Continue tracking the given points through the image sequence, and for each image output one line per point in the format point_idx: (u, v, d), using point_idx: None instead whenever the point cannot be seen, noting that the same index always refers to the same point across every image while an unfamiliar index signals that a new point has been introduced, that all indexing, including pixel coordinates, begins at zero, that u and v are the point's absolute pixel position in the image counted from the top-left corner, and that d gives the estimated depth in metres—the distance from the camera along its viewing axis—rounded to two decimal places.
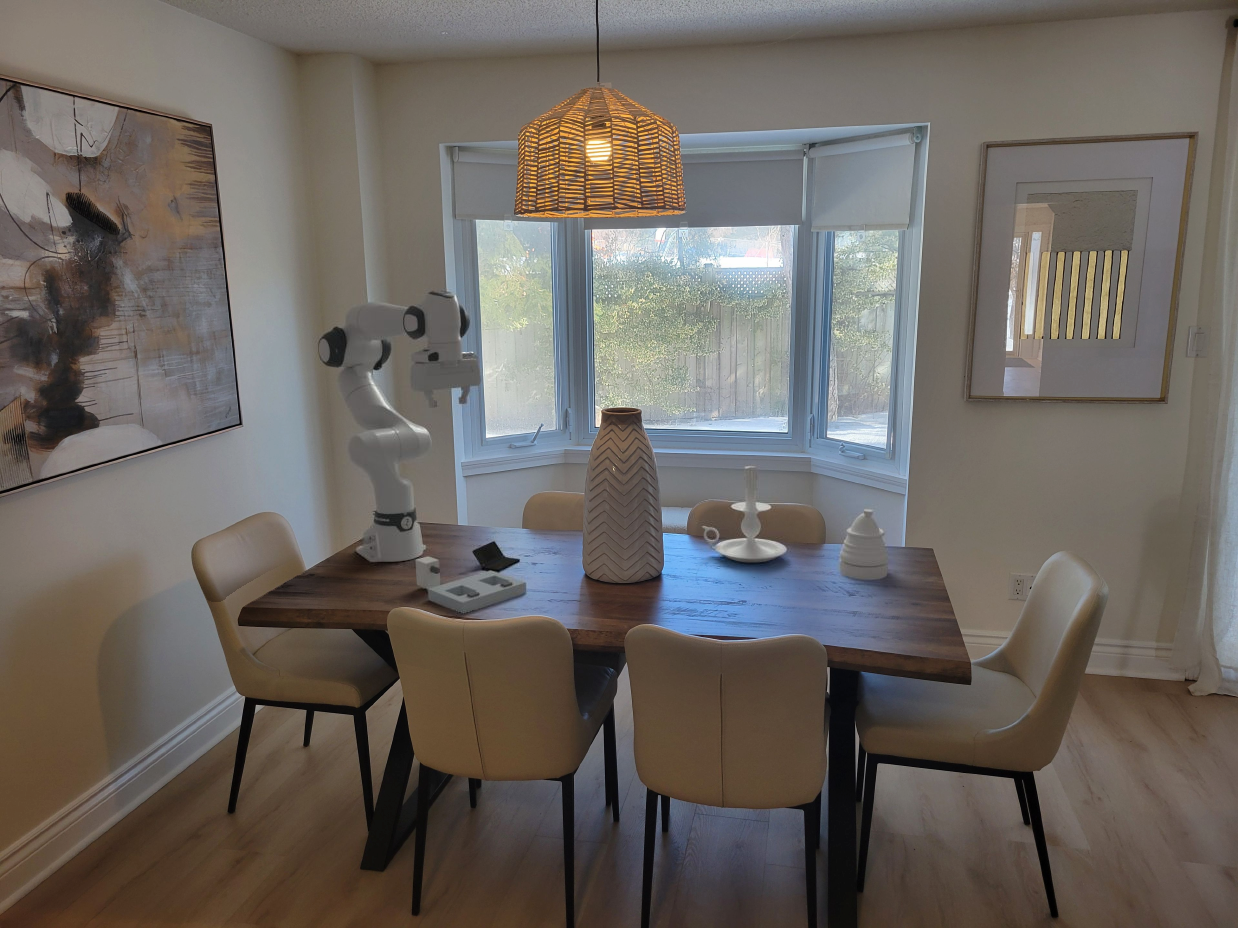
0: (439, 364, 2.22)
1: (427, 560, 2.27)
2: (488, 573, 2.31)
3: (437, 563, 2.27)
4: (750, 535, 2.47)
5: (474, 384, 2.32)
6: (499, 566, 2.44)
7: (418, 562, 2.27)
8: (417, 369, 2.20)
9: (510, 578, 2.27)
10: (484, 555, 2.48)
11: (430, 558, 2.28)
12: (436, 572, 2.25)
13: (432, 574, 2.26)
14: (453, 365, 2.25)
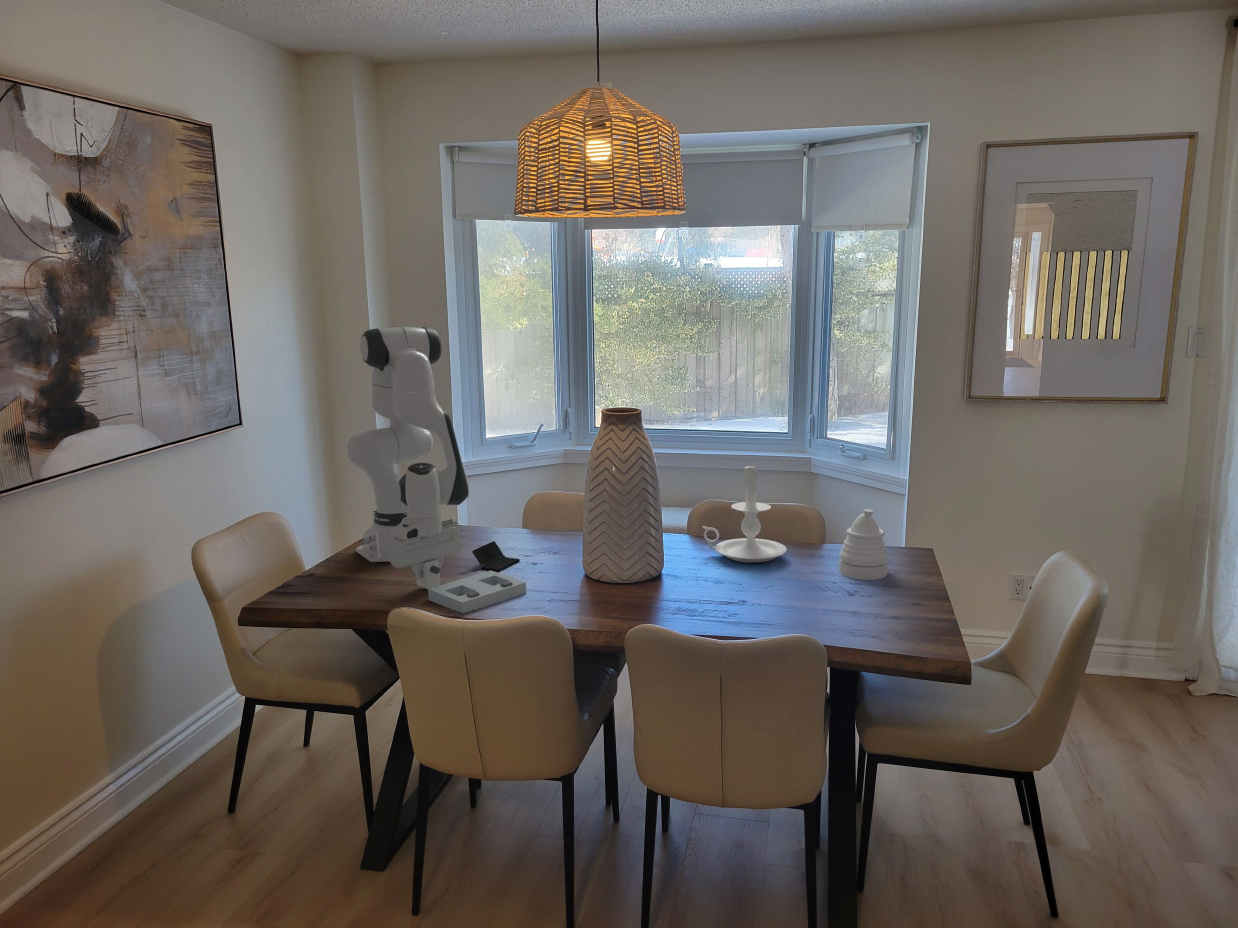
0: (418, 539, 2.21)
1: None
2: (488, 573, 2.31)
3: (437, 563, 2.27)
4: (750, 535, 2.47)
5: (454, 552, 2.31)
6: (499, 566, 2.44)
7: None
8: (396, 546, 2.19)
9: (510, 578, 2.27)
10: (484, 555, 2.48)
11: None
12: (436, 572, 2.25)
13: (432, 574, 2.26)
14: (432, 538, 2.24)
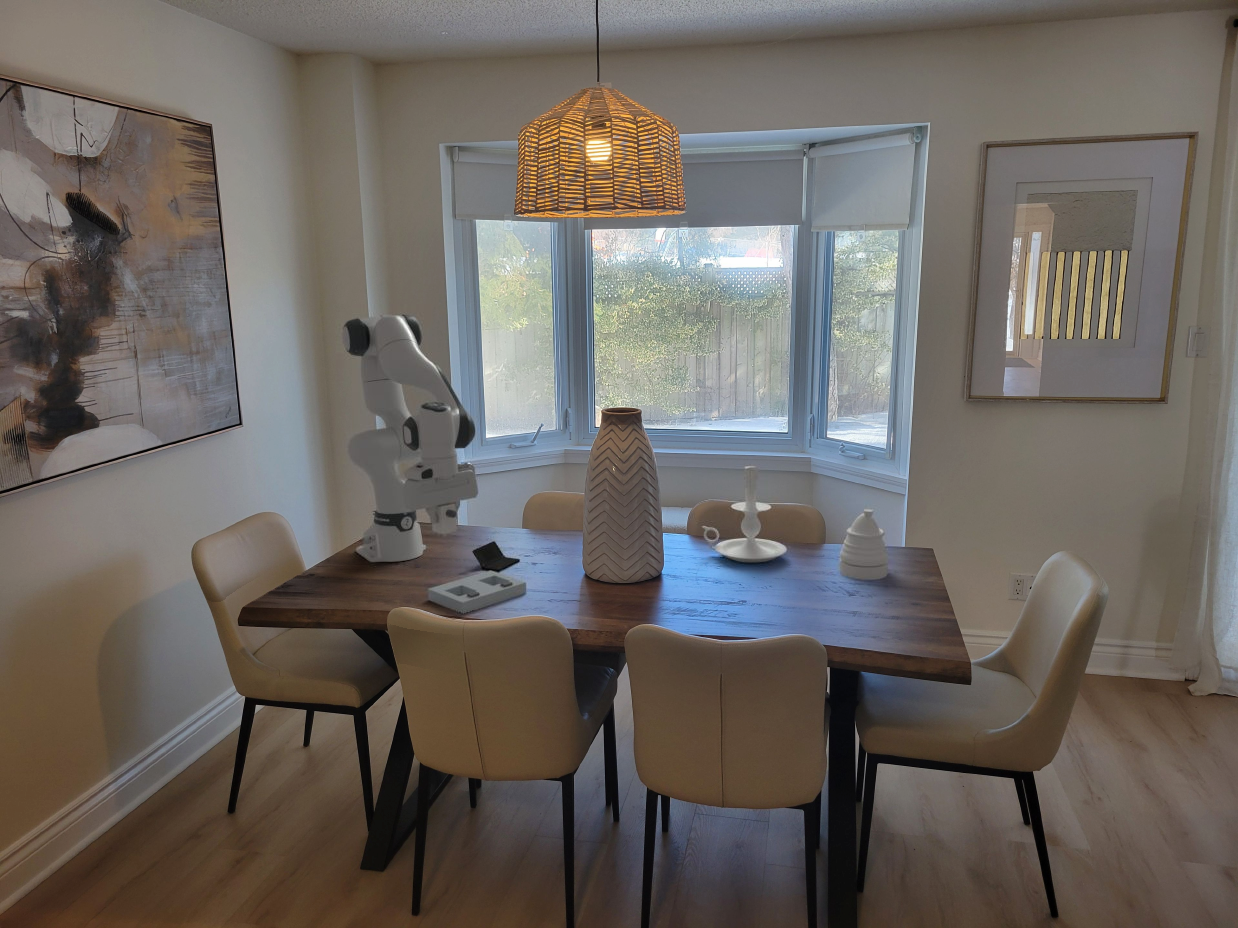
0: (433, 480, 2.11)
1: (443, 504, 2.16)
2: (488, 573, 2.31)
3: (453, 507, 2.17)
4: (750, 535, 2.47)
5: (471, 496, 2.21)
6: (499, 566, 2.44)
7: None
8: (410, 487, 2.09)
9: (510, 578, 2.27)
10: (484, 555, 2.48)
11: None
12: (452, 516, 2.14)
13: (448, 518, 2.16)
14: (448, 480, 2.14)
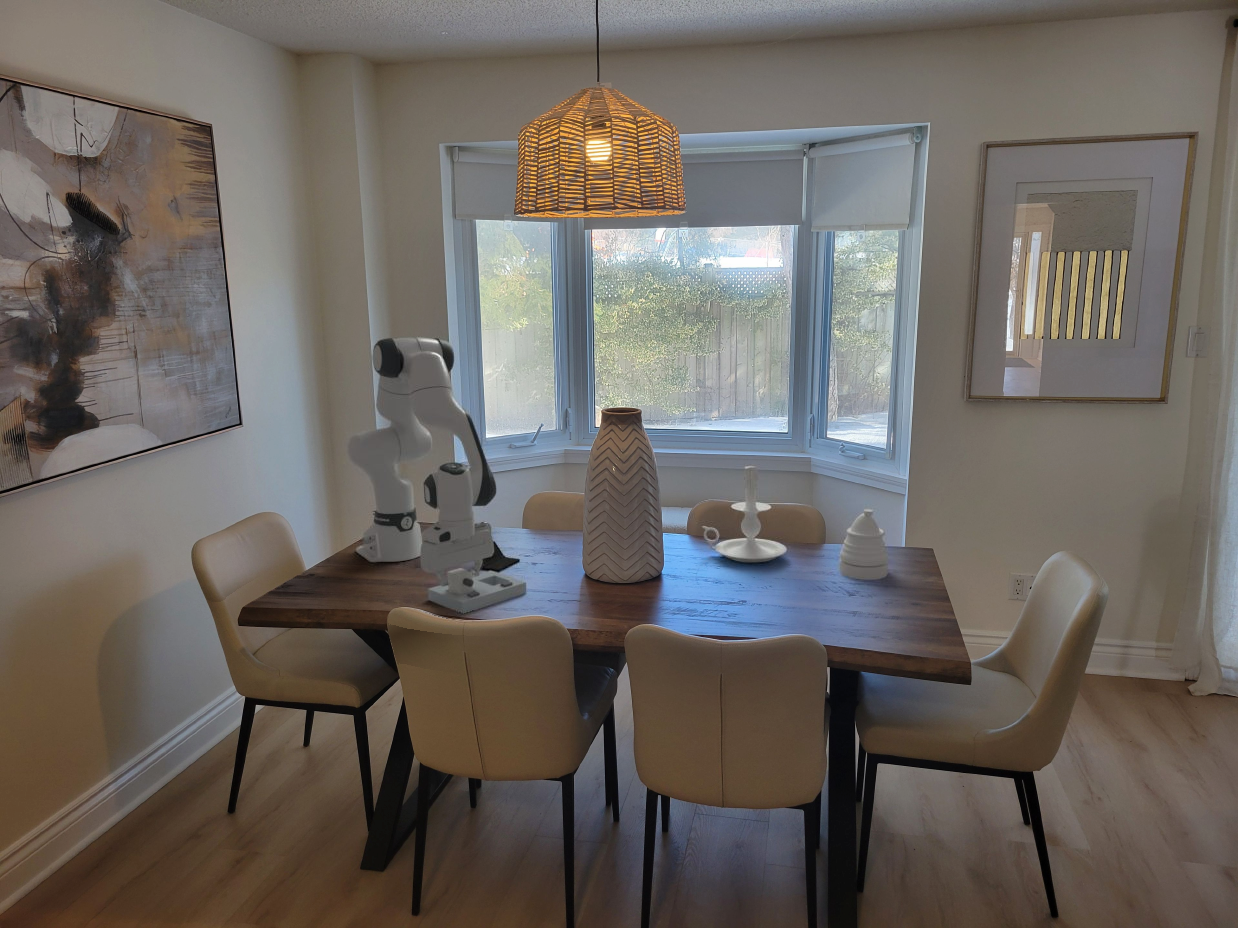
0: (451, 543, 2.11)
1: (460, 572, 2.16)
2: (488, 573, 2.31)
3: (470, 575, 2.16)
4: (750, 535, 2.47)
5: (487, 556, 2.21)
6: (499, 566, 2.44)
7: (450, 574, 2.16)
8: (428, 550, 2.08)
9: (510, 578, 2.27)
10: None
11: (462, 570, 2.18)
12: (469, 585, 2.14)
13: (465, 587, 2.16)
14: (465, 541, 2.13)
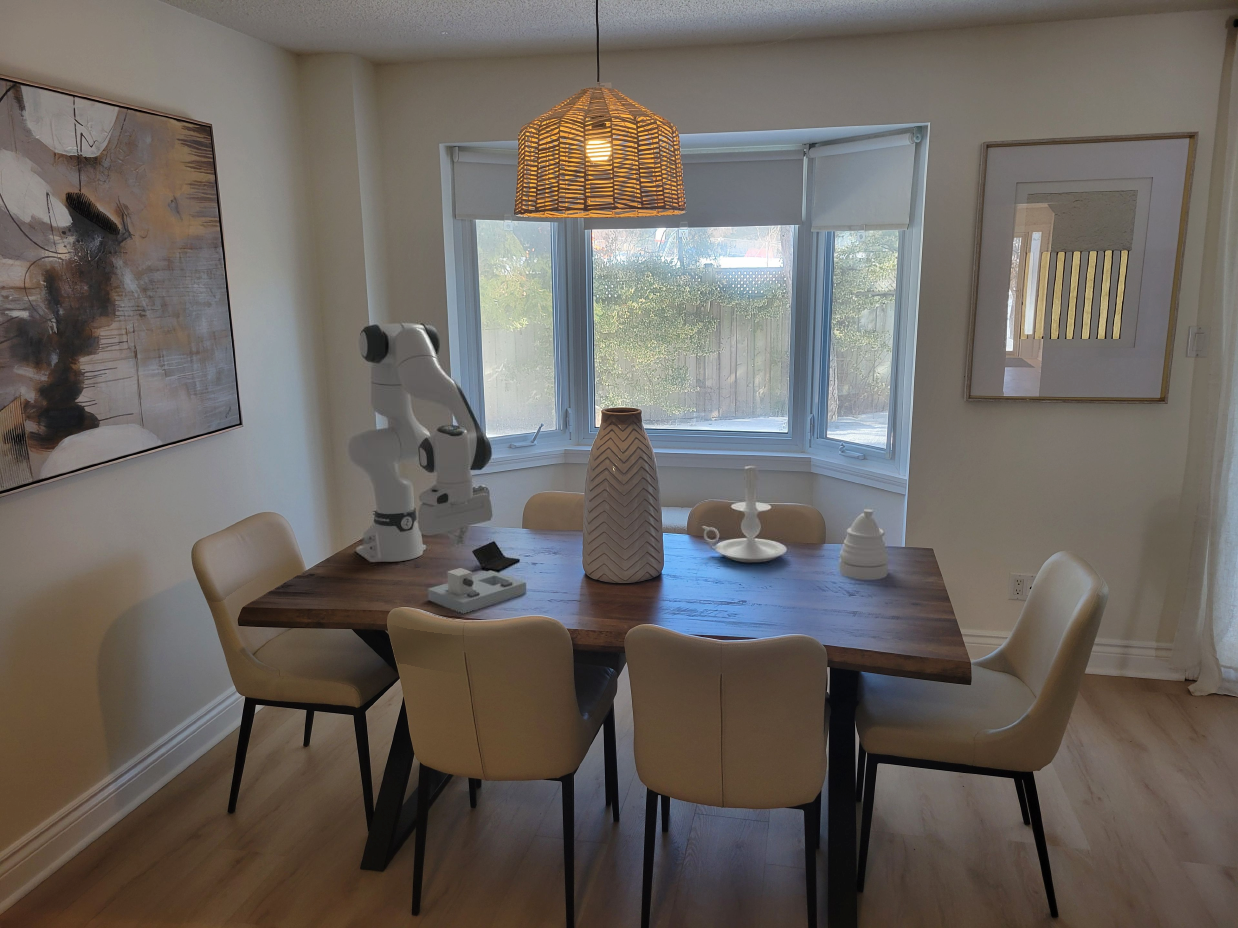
0: (448, 505, 2.09)
1: (460, 572, 2.16)
2: (488, 573, 2.31)
3: (470, 575, 2.16)
4: (750, 535, 2.47)
5: (485, 520, 2.19)
6: (499, 566, 2.44)
7: (450, 574, 2.16)
8: (426, 512, 2.06)
9: (510, 578, 2.27)
10: (484, 555, 2.48)
11: (462, 570, 2.18)
12: (469, 585, 2.14)
13: (465, 587, 2.16)
14: (463, 504, 2.11)
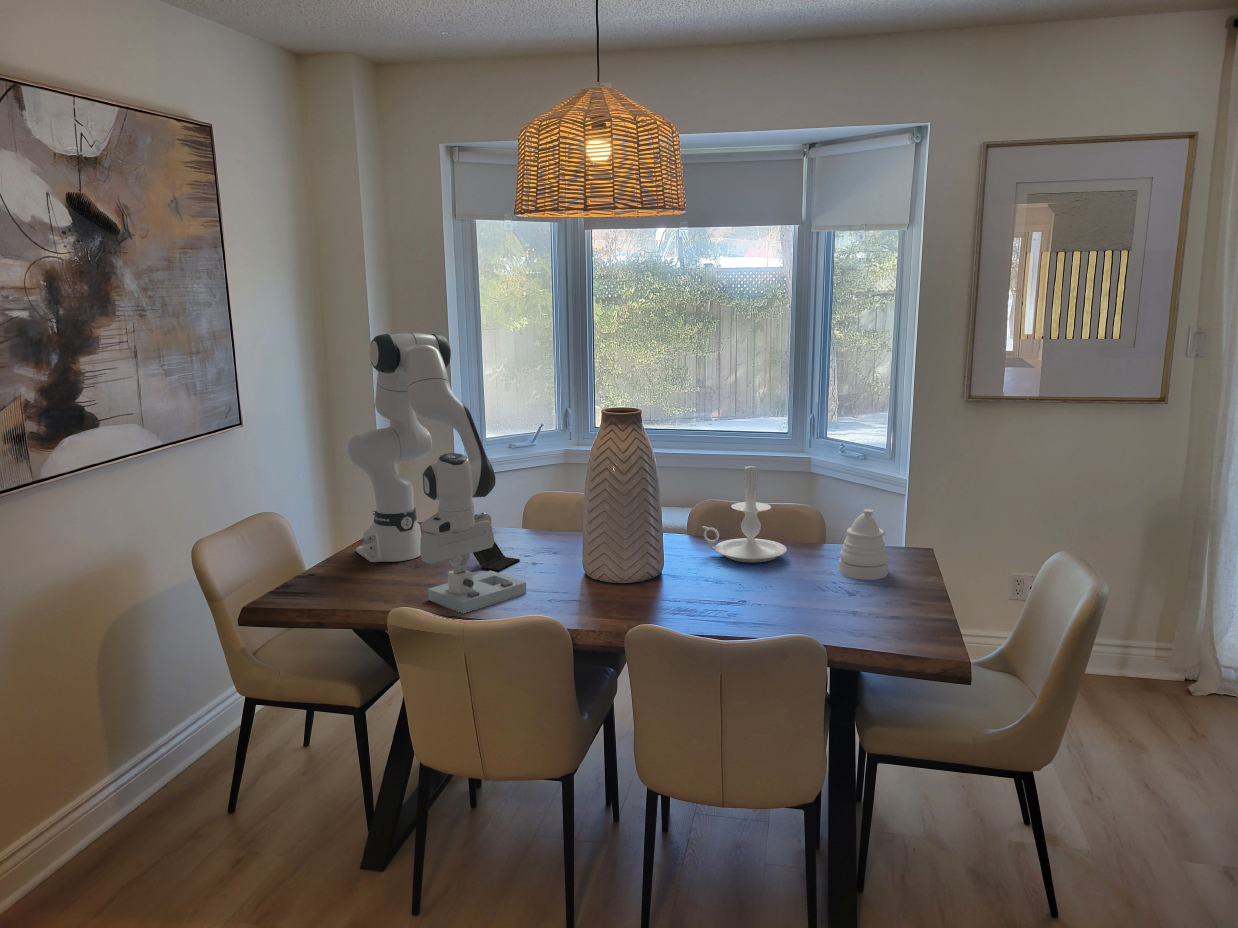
0: (450, 533, 2.10)
1: None
2: (488, 573, 2.31)
3: (470, 576, 2.16)
4: (750, 535, 2.47)
5: (487, 547, 2.20)
6: (499, 566, 2.44)
7: (450, 574, 2.16)
8: (428, 540, 2.07)
9: (510, 578, 2.27)
10: (484, 555, 2.48)
11: None
12: (470, 585, 2.14)
13: (465, 587, 2.16)
14: (465, 532, 2.13)
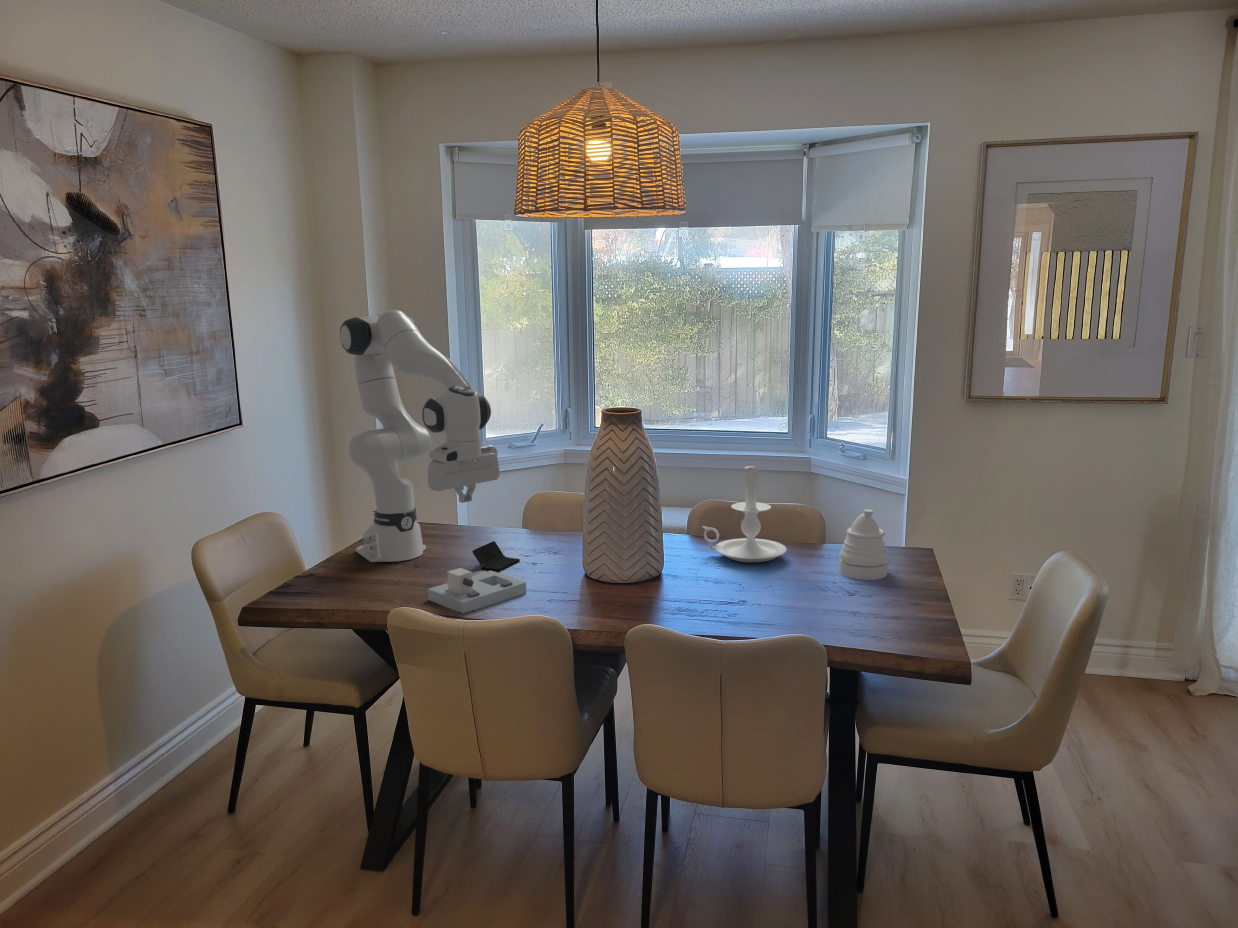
0: (457, 463, 2.17)
1: (460, 572, 2.16)
2: (488, 573, 2.31)
3: (470, 575, 2.16)
4: (750, 535, 2.47)
5: (492, 479, 2.27)
6: (499, 566, 2.44)
7: (450, 574, 2.16)
8: (435, 468, 2.14)
9: (510, 578, 2.27)
10: (484, 555, 2.48)
11: (462, 570, 2.18)
12: (469, 585, 2.14)
13: (465, 587, 2.16)
14: (472, 462, 2.19)
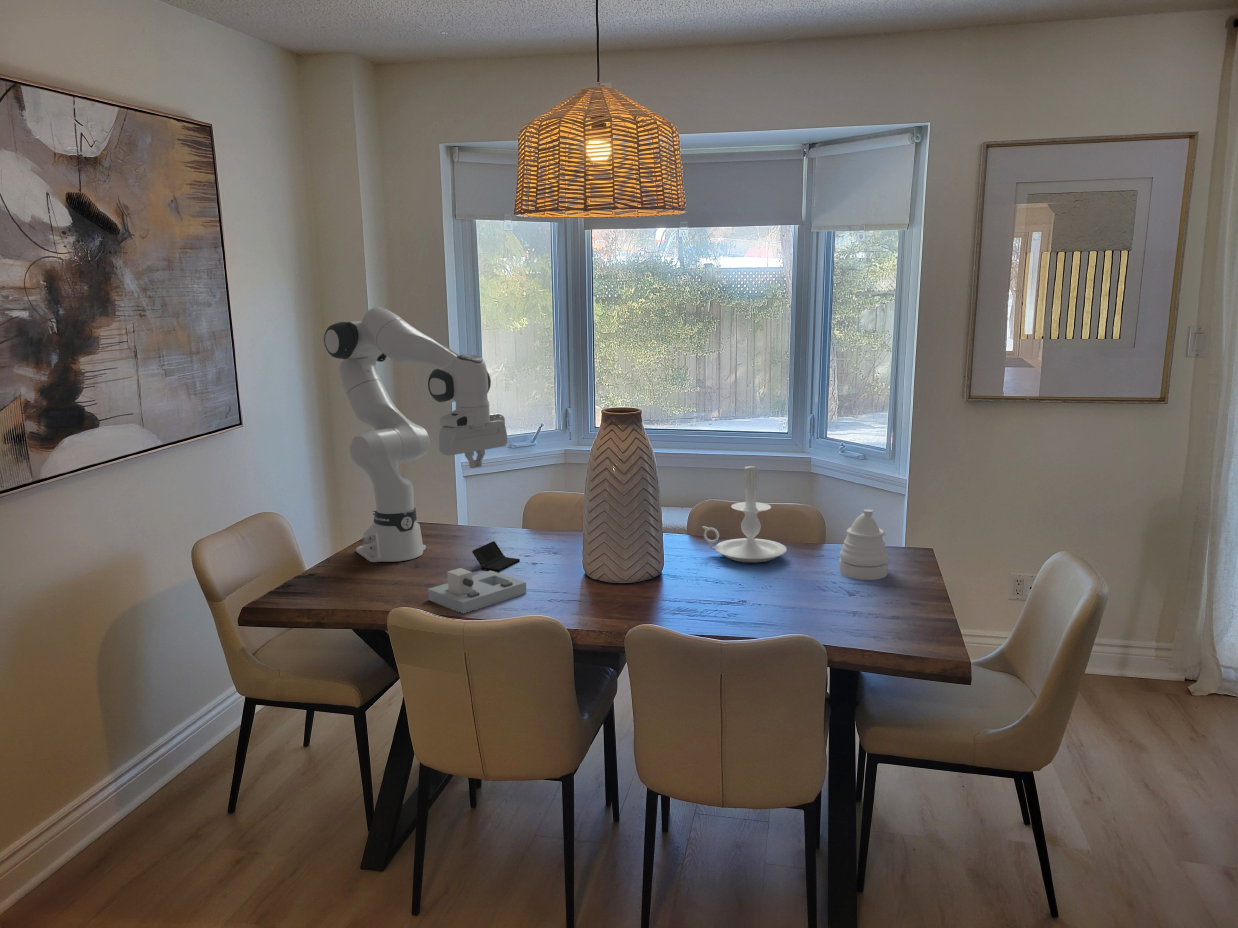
0: (467, 428, 2.25)
1: (460, 572, 2.16)
2: (488, 573, 2.31)
3: (470, 575, 2.16)
4: (750, 535, 2.47)
5: (501, 445, 2.34)
6: (499, 566, 2.44)
7: (450, 574, 2.16)
8: (446, 433, 2.22)
9: (510, 578, 2.27)
10: (484, 555, 2.48)
11: (462, 570, 2.18)
12: (469, 585, 2.14)
13: (465, 587, 2.16)
14: (481, 428, 2.27)
